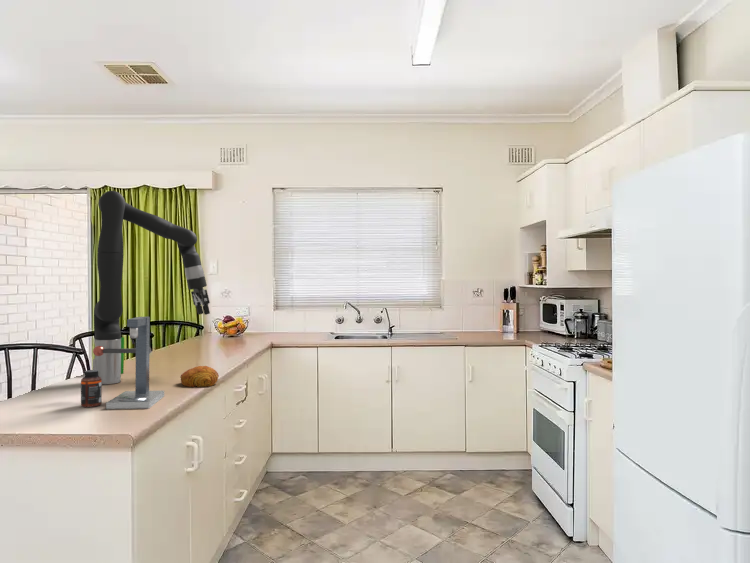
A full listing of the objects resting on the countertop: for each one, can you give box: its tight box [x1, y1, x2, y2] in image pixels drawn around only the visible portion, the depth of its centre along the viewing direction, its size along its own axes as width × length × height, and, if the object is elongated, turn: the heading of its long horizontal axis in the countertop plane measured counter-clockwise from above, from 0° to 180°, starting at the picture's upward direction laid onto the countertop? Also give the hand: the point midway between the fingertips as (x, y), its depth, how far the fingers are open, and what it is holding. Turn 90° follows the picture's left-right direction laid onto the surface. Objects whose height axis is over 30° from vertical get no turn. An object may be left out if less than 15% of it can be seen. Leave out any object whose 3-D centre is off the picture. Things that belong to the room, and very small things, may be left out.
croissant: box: [180, 365, 220, 388], centre depth 212 cm, size 14×16×8 cm
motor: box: [121, 336, 125, 375], centre depth 234 cm, size 10×9×20 cm
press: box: [105, 316, 165, 410], centre depth 179 cm, size 13×18×28 cm
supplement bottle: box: [80, 369, 103, 408], centre depth 174 cm, size 6×6×11 cm
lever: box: [92, 346, 152, 356], centre depth 188 cm, size 19×4×4 cm, turn 97°
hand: (203, 314), depth 231 cm, fingers open, 8 cm apart
